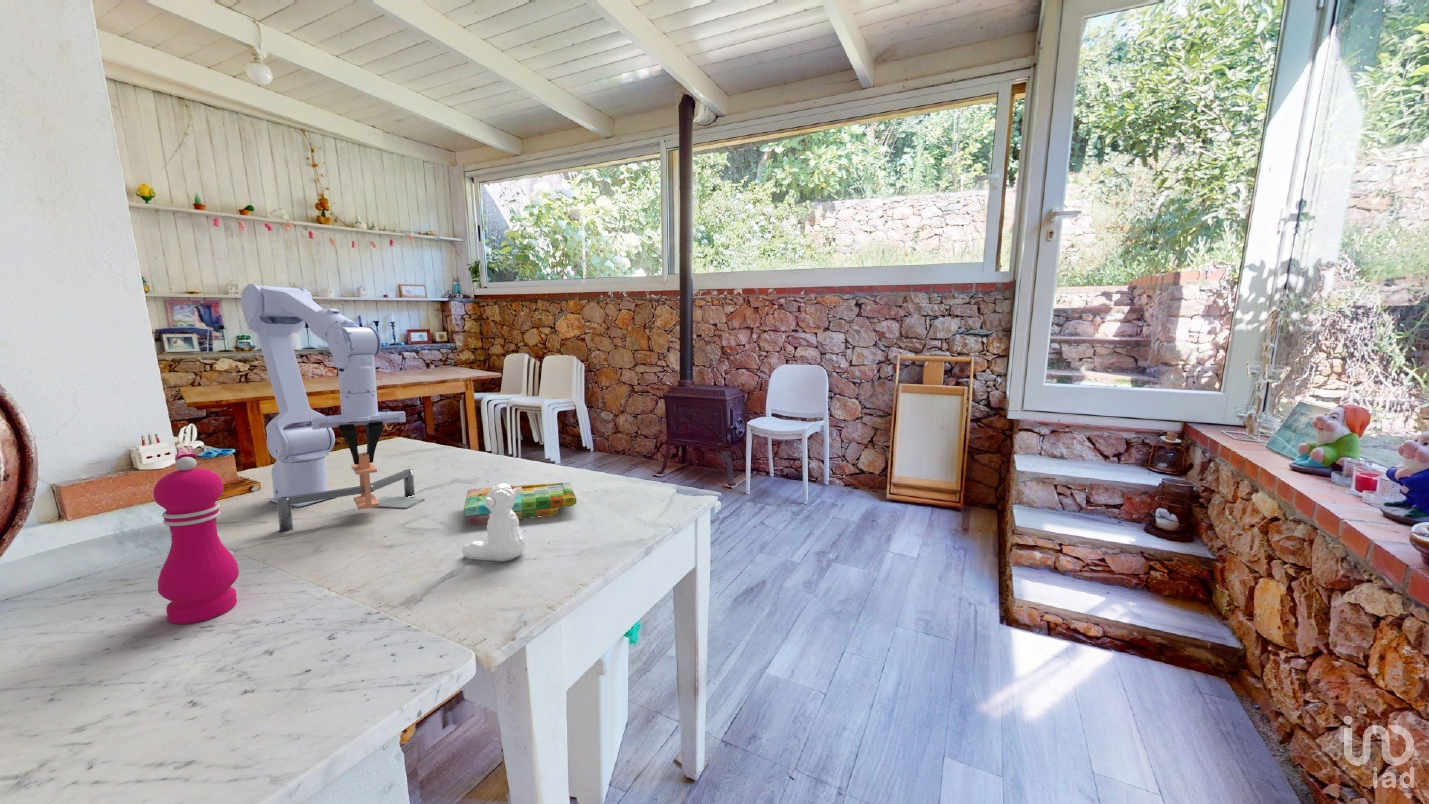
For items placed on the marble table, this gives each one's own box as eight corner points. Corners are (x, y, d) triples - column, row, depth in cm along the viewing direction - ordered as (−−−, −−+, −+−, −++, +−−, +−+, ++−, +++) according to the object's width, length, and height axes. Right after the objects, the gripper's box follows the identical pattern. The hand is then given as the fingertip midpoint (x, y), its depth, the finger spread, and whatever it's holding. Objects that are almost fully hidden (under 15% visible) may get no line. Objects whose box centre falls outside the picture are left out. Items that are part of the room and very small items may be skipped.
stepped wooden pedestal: (358, 509, 96) (355, 458, 94) (353, 499, 101) (350, 451, 100) (379, 506, 98) (375, 456, 96) (373, 496, 103) (369, 449, 102)
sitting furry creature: (513, 538, 90) (511, 471, 89) (544, 551, 85) (542, 480, 84) (460, 557, 82) (457, 484, 81) (491, 572, 78) (488, 495, 76)
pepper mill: (171, 634, 60) (150, 467, 58) (154, 615, 64) (134, 458, 62) (251, 607, 66) (235, 455, 64) (231, 591, 70) (215, 447, 68)
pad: (406, 508, 104) (406, 507, 104) (364, 506, 104) (364, 505, 104) (424, 499, 109) (424, 498, 109) (384, 497, 110) (384, 496, 110)
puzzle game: (467, 486, 105) (569, 478, 112) (468, 508, 105) (569, 498, 113) (463, 504, 94) (576, 493, 102) (464, 529, 95) (576, 516, 102)
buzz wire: (277, 530, 91) (274, 499, 90) (400, 492, 113) (398, 467, 113) (306, 537, 89) (303, 504, 88) (426, 497, 111) (425, 471, 110)
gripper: (310, 396, 89) (317, 473, 90) (407, 391, 98) (411, 461, 100) (308, 392, 94) (314, 465, 96) (399, 388, 103) (403, 454, 105)
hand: (363, 462), depth 98 cm, fingers closed on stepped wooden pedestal, 2 cm apart
